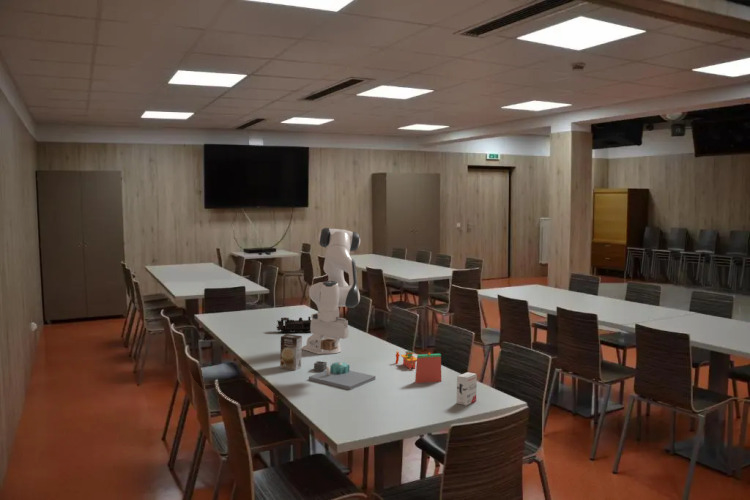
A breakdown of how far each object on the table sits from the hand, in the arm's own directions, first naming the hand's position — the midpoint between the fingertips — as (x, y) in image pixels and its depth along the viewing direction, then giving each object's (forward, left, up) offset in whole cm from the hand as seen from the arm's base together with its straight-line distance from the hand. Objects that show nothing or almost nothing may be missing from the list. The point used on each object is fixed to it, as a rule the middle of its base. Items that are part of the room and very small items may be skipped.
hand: (329, 345), depth 274 cm
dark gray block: (-12, +9, -16) cm, 22 cm away
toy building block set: (+26, +36, -16) cm, 48 cm away
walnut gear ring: (0, 0, -2) cm, 2 cm away
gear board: (+6, +3, -16) cm, 17 cm away
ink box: (+66, +10, -16) cm, 68 cm away
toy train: (-77, +65, -16) cm, 102 cm away
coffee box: (-26, +3, -16) cm, 31 cm away
